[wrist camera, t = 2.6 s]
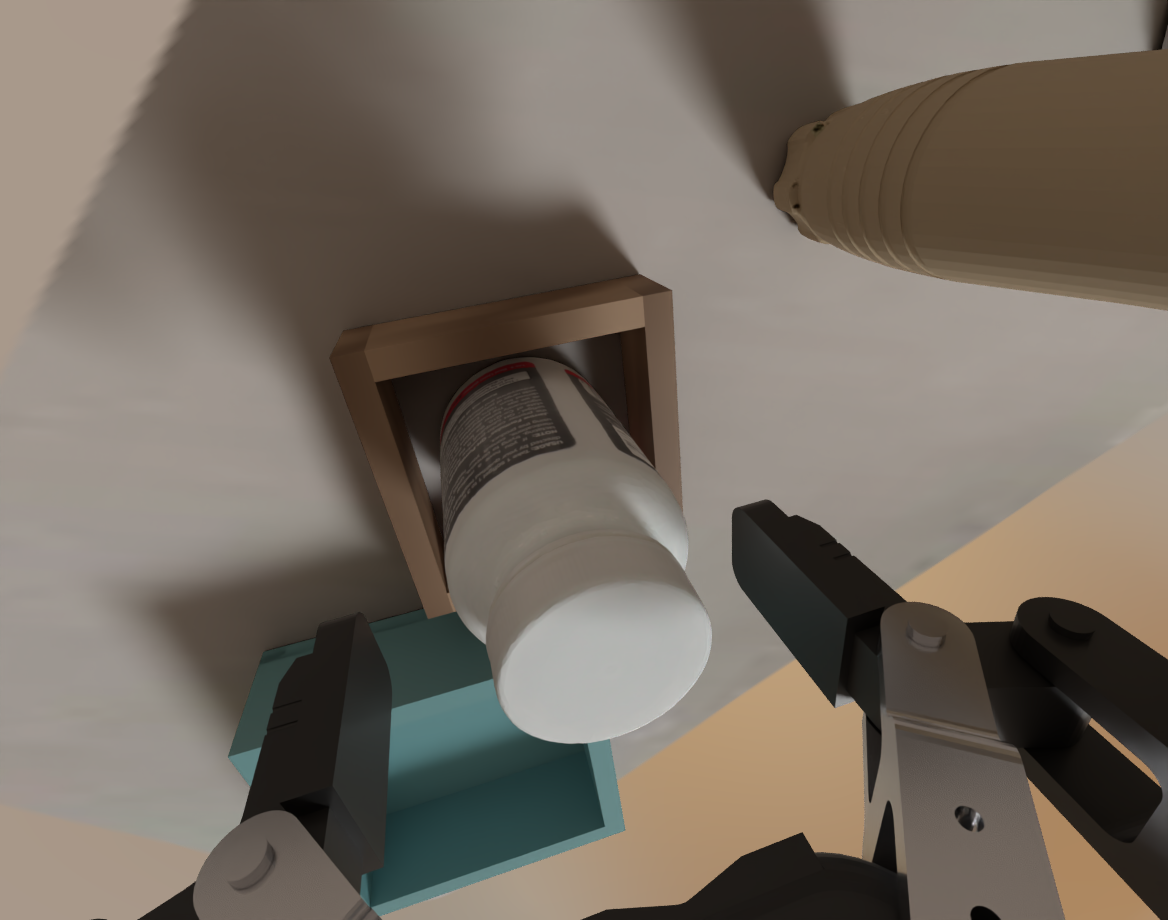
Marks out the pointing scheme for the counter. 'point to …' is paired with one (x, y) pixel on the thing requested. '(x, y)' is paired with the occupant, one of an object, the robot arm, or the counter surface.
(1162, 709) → the robot arm
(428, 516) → the brown open box
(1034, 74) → the handle
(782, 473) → the counter surface
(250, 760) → the tray
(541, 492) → the pill bottle
